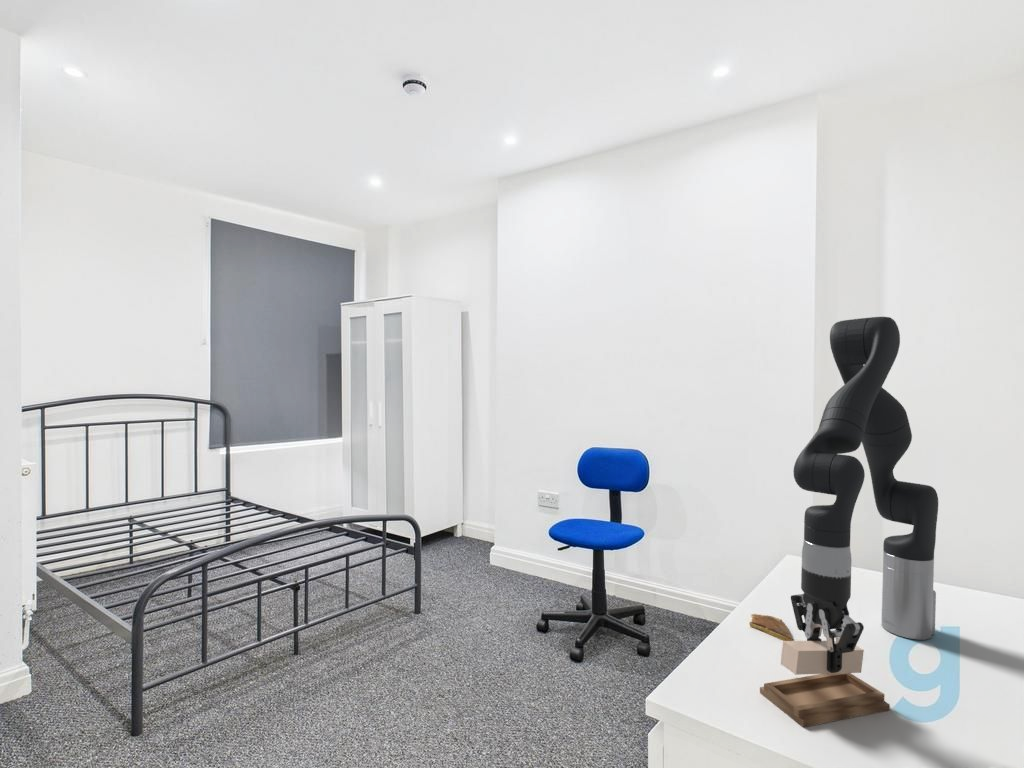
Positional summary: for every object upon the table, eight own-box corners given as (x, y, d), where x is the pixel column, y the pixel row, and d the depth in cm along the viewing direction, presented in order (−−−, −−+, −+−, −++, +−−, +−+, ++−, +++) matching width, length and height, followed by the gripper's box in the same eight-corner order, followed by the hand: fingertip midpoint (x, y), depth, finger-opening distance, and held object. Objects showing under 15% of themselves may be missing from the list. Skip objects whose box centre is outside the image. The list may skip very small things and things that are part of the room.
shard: (793, 646, 117) (793, 638, 117) (754, 642, 119) (754, 633, 119) (781, 624, 128) (782, 616, 128) (746, 620, 129) (746, 612, 129)
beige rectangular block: (844, 662, 100) (846, 640, 100) (861, 672, 97) (863, 649, 97) (780, 664, 96) (783, 641, 96) (795, 674, 93) (798, 650, 93)
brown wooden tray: (840, 678, 104) (840, 667, 104) (889, 710, 94) (889, 697, 94) (759, 692, 99) (760, 680, 99) (803, 727, 90) (803, 713, 90)
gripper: (879, 580, 91) (877, 684, 91) (811, 553, 104) (809, 643, 104) (843, 584, 89) (840, 691, 89) (778, 556, 102) (776, 648, 102)
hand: (823, 664), depth 97 cm, fingers closed on beige rectangular block, 3 cm apart
